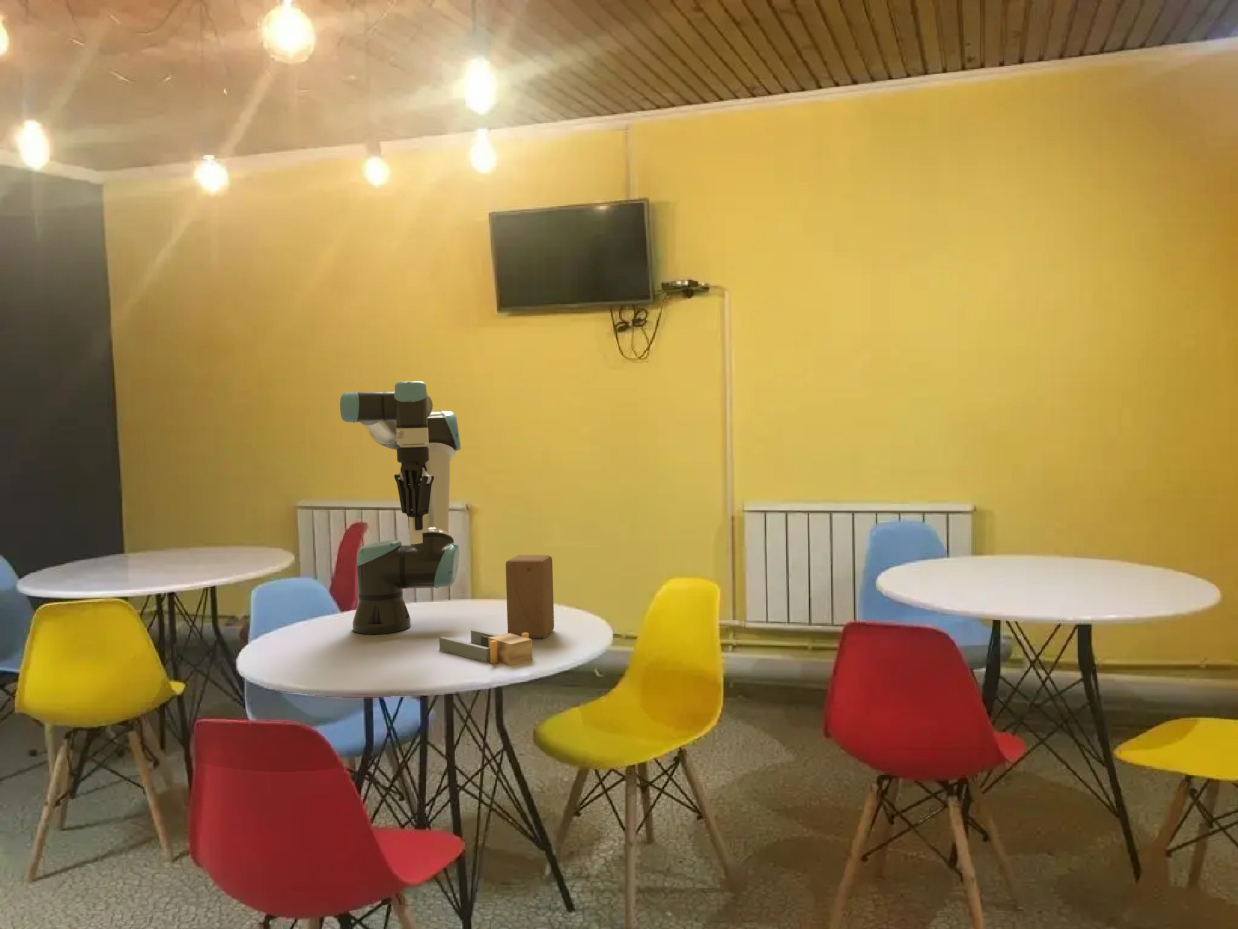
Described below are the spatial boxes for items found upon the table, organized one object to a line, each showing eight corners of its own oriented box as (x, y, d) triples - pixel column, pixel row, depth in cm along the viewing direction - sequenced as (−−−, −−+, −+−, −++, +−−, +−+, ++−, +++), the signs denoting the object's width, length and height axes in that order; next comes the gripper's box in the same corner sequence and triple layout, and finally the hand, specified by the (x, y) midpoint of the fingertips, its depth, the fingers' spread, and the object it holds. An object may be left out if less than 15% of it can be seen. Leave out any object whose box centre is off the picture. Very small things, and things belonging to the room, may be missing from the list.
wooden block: (544, 639, 231) (542, 560, 229) (506, 638, 233) (504, 560, 231) (555, 630, 240) (553, 554, 239) (518, 629, 242) (516, 554, 241)
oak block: (488, 658, 214) (488, 637, 214) (510, 653, 218) (509, 633, 218) (511, 666, 207) (510, 644, 207) (532, 660, 211) (531, 639, 211)
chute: (438, 650, 223) (438, 629, 222) (475, 641, 231) (474, 621, 230) (493, 664, 208) (492, 642, 208) (530, 654, 217) (530, 633, 216)
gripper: (383, 446, 222) (387, 543, 223) (416, 446, 213) (419, 547, 214) (409, 444, 227) (413, 539, 229) (442, 445, 219) (445, 543, 220)
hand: (416, 543), depth 222 cm, fingers closed
